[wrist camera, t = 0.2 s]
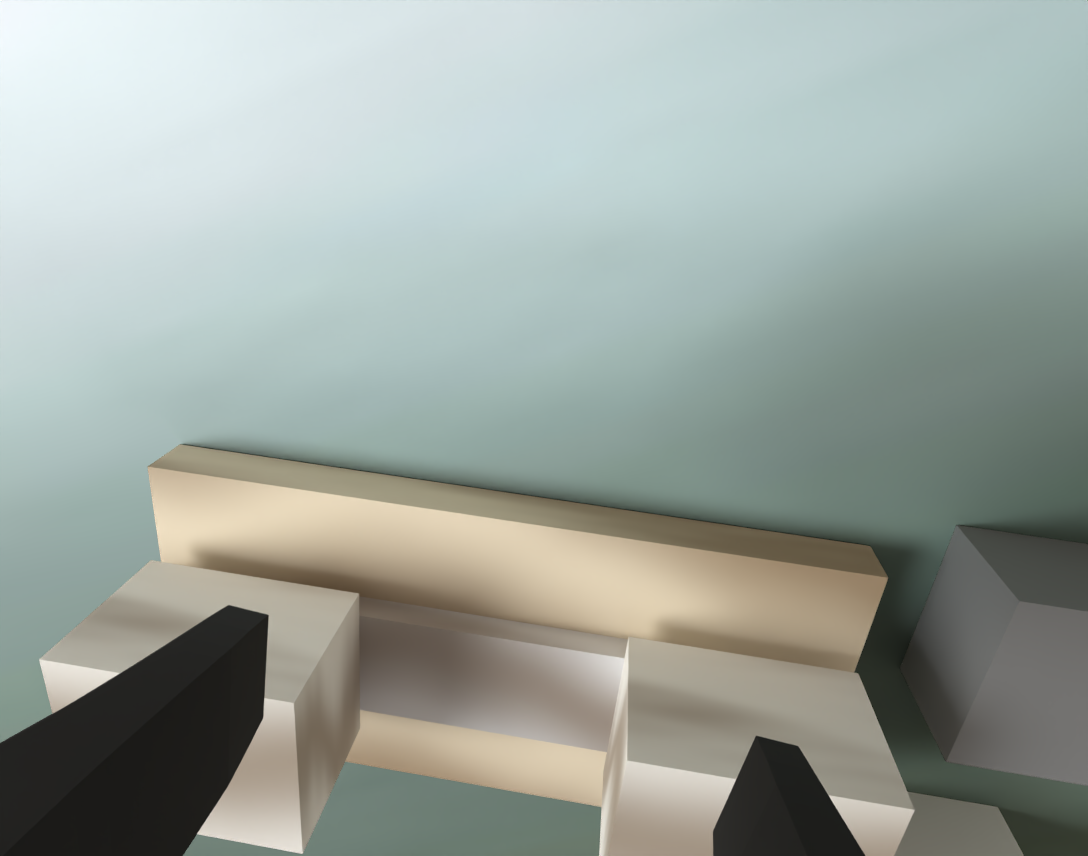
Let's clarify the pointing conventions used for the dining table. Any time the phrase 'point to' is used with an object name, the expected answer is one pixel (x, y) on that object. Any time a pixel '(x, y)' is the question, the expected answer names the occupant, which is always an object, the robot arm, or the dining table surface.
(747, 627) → the board
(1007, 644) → the box
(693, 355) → the dining table surface
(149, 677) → the robot arm
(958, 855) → the block
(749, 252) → the dining table surface
